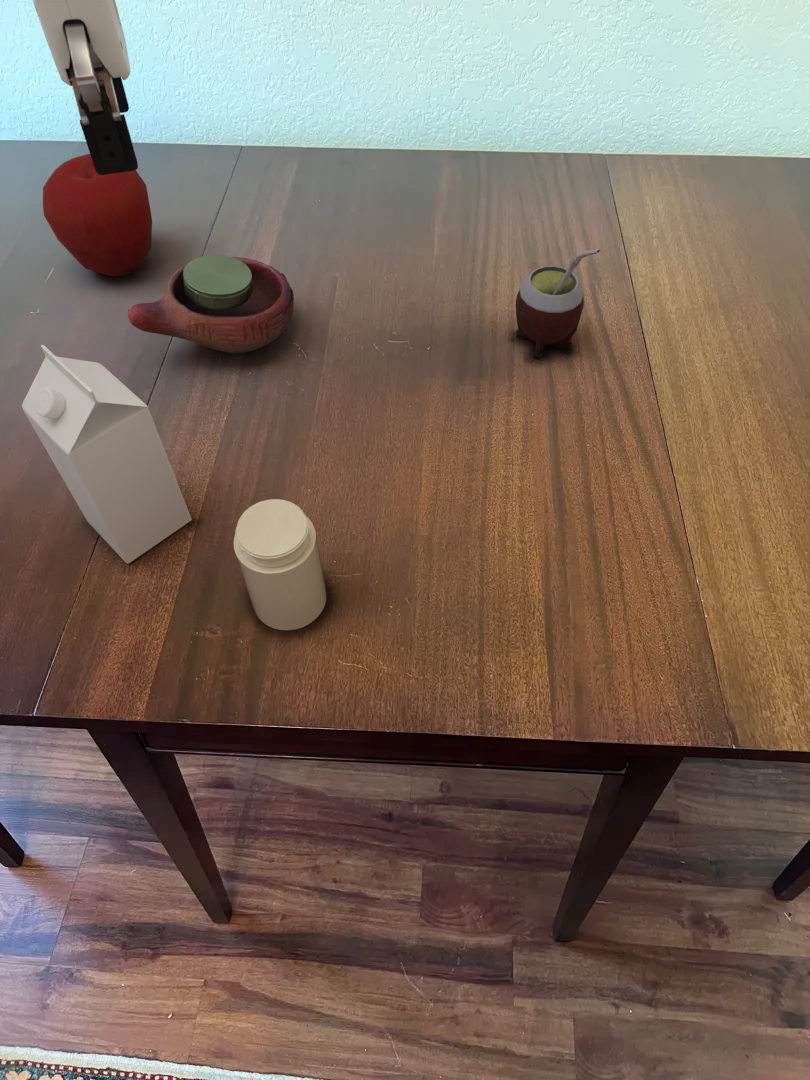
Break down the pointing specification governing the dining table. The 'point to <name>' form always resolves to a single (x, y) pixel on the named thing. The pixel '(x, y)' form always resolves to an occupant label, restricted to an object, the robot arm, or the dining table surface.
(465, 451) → the dining table surface
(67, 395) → the milk carton
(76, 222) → the apple
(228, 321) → the bowl
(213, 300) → the jar lid
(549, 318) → the mate gourd
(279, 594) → the jar
